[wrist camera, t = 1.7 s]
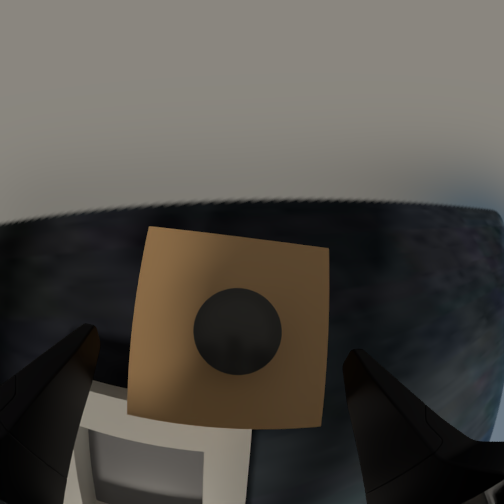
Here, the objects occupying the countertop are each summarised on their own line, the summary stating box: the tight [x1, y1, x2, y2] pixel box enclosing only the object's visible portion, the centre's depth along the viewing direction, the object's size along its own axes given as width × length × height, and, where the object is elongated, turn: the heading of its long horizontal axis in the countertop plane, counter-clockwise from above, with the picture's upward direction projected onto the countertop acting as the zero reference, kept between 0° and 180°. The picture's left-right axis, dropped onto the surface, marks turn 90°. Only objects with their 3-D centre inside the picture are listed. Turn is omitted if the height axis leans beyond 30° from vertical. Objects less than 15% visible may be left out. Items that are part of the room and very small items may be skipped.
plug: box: [127, 226, 329, 429], centre depth 11 cm, size 6×5×12 cm
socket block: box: [63, 380, 252, 504], centre depth 11 cm, size 13×13×3 cm
